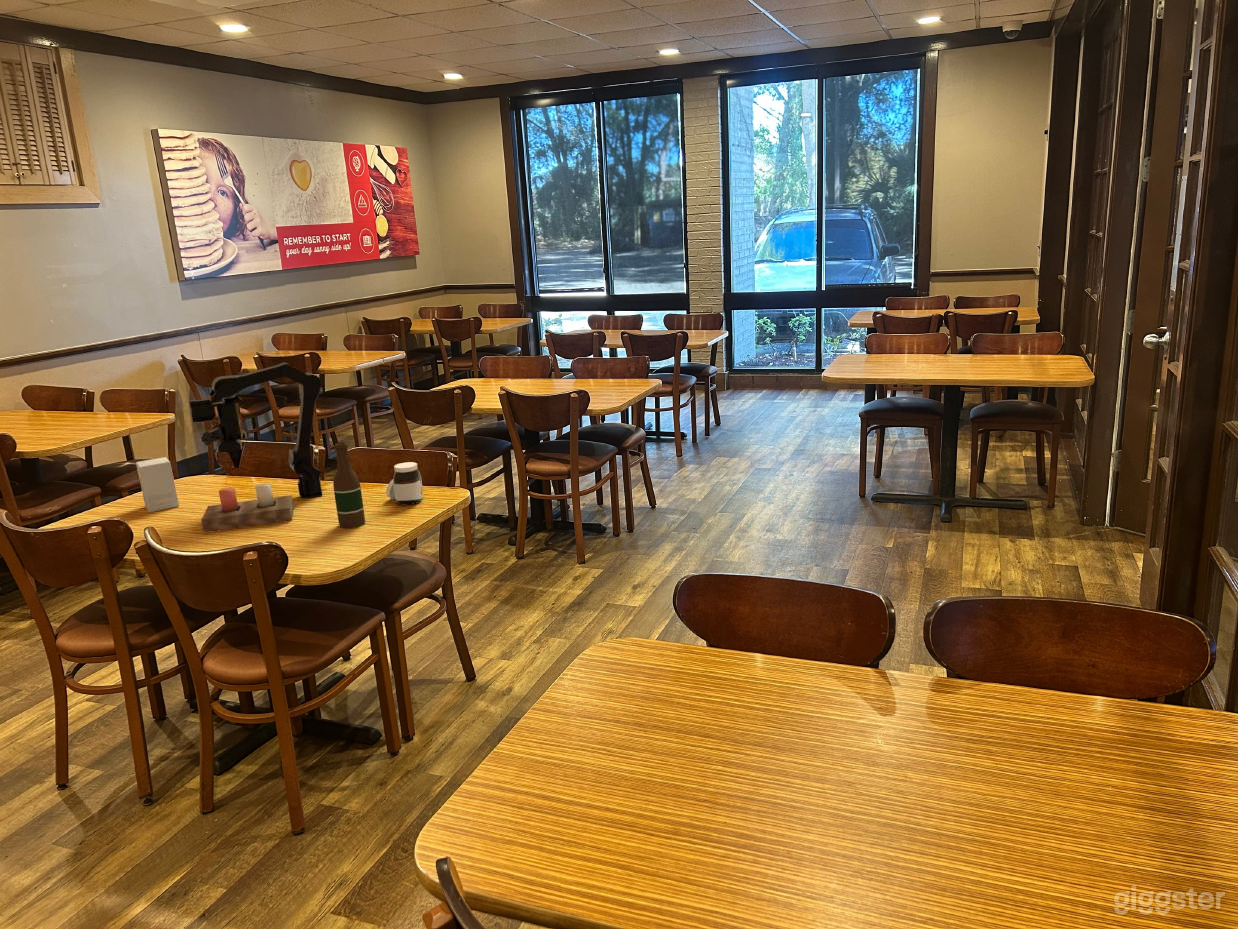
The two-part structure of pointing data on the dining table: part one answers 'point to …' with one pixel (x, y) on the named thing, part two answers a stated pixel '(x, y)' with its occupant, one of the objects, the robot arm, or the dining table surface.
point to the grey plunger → (264, 495)
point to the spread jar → (406, 484)
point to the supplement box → (157, 484)
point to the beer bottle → (347, 491)
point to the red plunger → (228, 499)
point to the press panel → (248, 514)
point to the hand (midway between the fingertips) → (237, 467)
